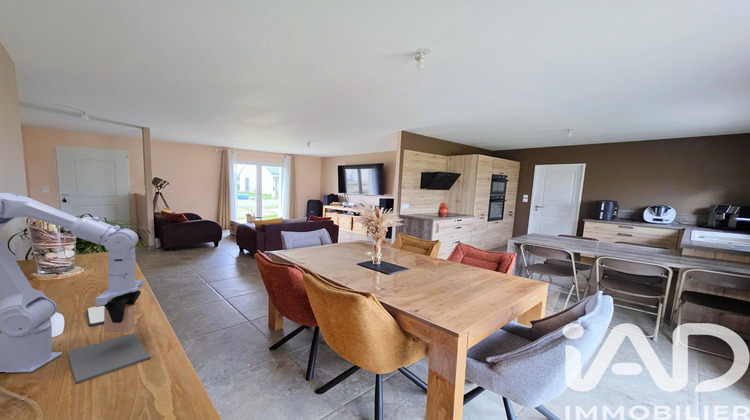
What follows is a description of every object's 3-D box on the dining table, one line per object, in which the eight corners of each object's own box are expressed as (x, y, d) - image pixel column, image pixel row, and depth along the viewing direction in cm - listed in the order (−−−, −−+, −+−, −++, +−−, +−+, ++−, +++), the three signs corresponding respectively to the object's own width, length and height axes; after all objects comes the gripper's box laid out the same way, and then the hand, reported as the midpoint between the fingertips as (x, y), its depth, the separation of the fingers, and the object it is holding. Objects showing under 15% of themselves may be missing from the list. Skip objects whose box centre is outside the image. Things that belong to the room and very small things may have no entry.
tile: (104, 332, 78) (104, 307, 78) (111, 327, 81) (111, 304, 80) (127, 332, 79) (128, 308, 78) (134, 327, 81) (134, 304, 81)
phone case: (124, 321, 97) (118, 305, 108) (124, 317, 97) (118, 301, 108) (88, 329, 91) (85, 312, 101) (88, 324, 91) (85, 307, 101)
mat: (150, 358, 77) (150, 356, 77) (76, 384, 66) (76, 381, 66) (133, 334, 88) (133, 333, 88) (67, 353, 77) (67, 351, 77)
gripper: (117, 281, 72) (116, 332, 73) (154, 266, 86) (153, 309, 87) (86, 280, 71) (86, 332, 72) (129, 265, 86) (128, 308, 86)
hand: (121, 319), depth 80 cm, fingers closed on tile, 2 cm apart
